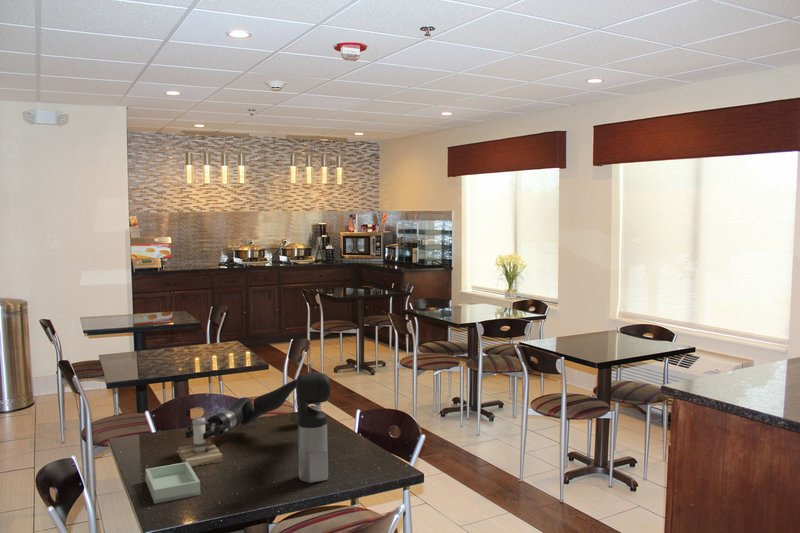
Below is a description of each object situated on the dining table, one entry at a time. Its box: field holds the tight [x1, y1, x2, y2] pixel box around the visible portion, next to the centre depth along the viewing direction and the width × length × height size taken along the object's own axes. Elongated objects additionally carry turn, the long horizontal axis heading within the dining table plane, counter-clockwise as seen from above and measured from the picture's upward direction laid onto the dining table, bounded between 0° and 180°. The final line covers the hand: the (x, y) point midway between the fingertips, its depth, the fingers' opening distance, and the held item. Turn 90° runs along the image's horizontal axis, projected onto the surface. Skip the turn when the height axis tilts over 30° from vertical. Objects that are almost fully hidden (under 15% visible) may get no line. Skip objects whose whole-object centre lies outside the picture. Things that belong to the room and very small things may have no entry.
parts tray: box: [145, 462, 201, 504], centre depth 201 cm, size 20×13×4 cm, turn 28°
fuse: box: [192, 416, 207, 454], centre depth 228 cm, size 4×4×14 cm
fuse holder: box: [177, 441, 223, 468], centre depth 228 cm, size 16×12×2 cm
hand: (195, 435), depth 226 cm, fingers open, 6 cm apart
